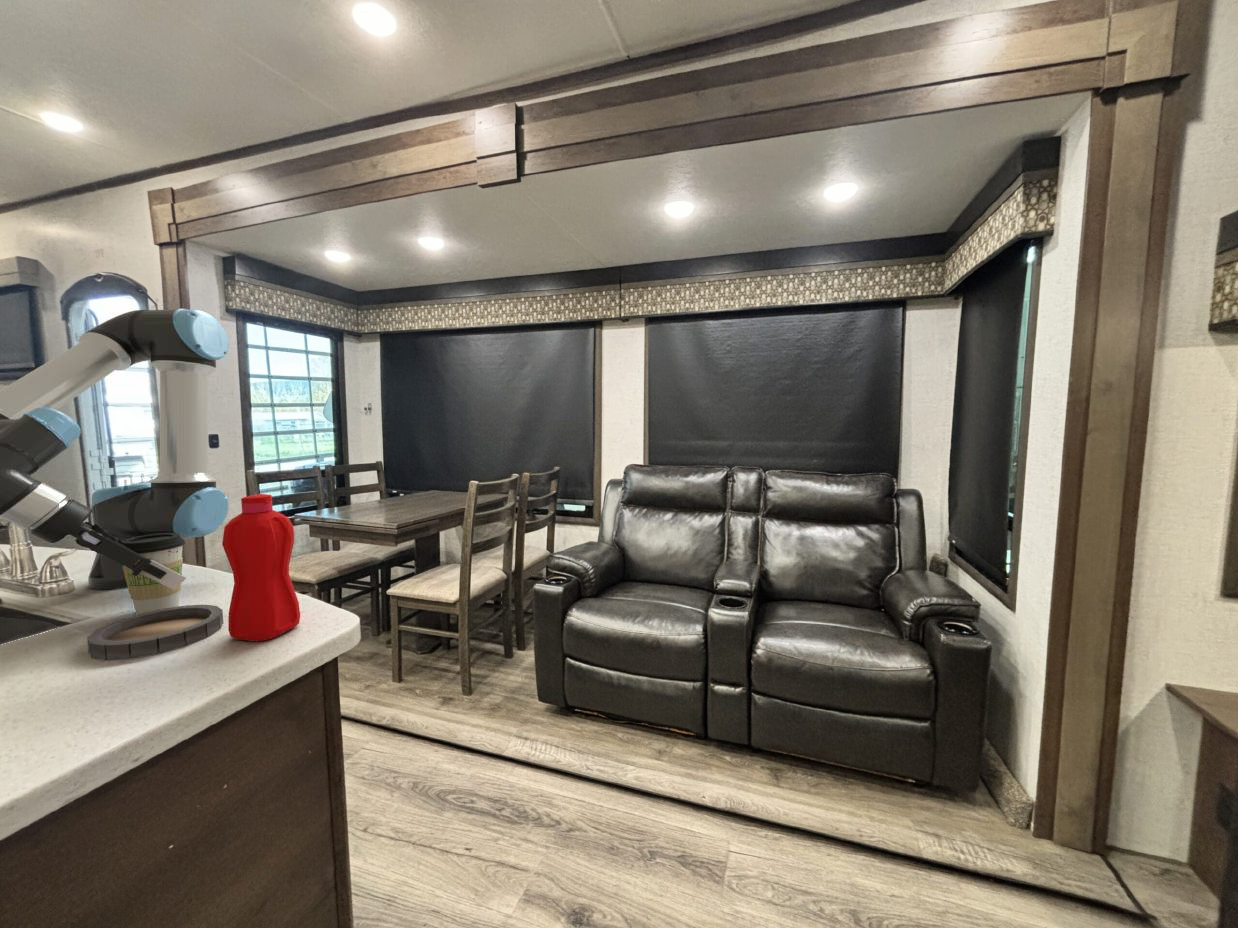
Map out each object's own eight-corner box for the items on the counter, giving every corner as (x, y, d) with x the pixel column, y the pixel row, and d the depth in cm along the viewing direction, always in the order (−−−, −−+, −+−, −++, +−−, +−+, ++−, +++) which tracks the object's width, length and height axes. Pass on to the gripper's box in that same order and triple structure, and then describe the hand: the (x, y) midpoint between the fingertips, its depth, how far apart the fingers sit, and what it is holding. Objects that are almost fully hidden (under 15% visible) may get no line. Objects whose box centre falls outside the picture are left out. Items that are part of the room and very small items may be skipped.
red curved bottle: (259, 619, 93) (250, 490, 91) (309, 623, 91) (300, 491, 89) (211, 640, 84) (199, 498, 82) (265, 645, 82) (254, 499, 80)
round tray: (112, 629, 89) (111, 616, 89) (230, 610, 97) (229, 598, 97) (69, 670, 74) (67, 654, 74) (212, 643, 83) (211, 629, 83)
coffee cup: (149, 623, 92) (141, 545, 90) (109, 619, 94) (101, 542, 92) (203, 603, 101) (197, 533, 100) (165, 600, 103) (159, 531, 102)
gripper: (27, 523, 91) (148, 582, 105) (26, 541, 77) (168, 607, 90) (66, 491, 95) (179, 552, 108) (73, 504, 80) (203, 572, 94)
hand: (174, 577), depth 99 cm, fingers open, 11 cm apart
